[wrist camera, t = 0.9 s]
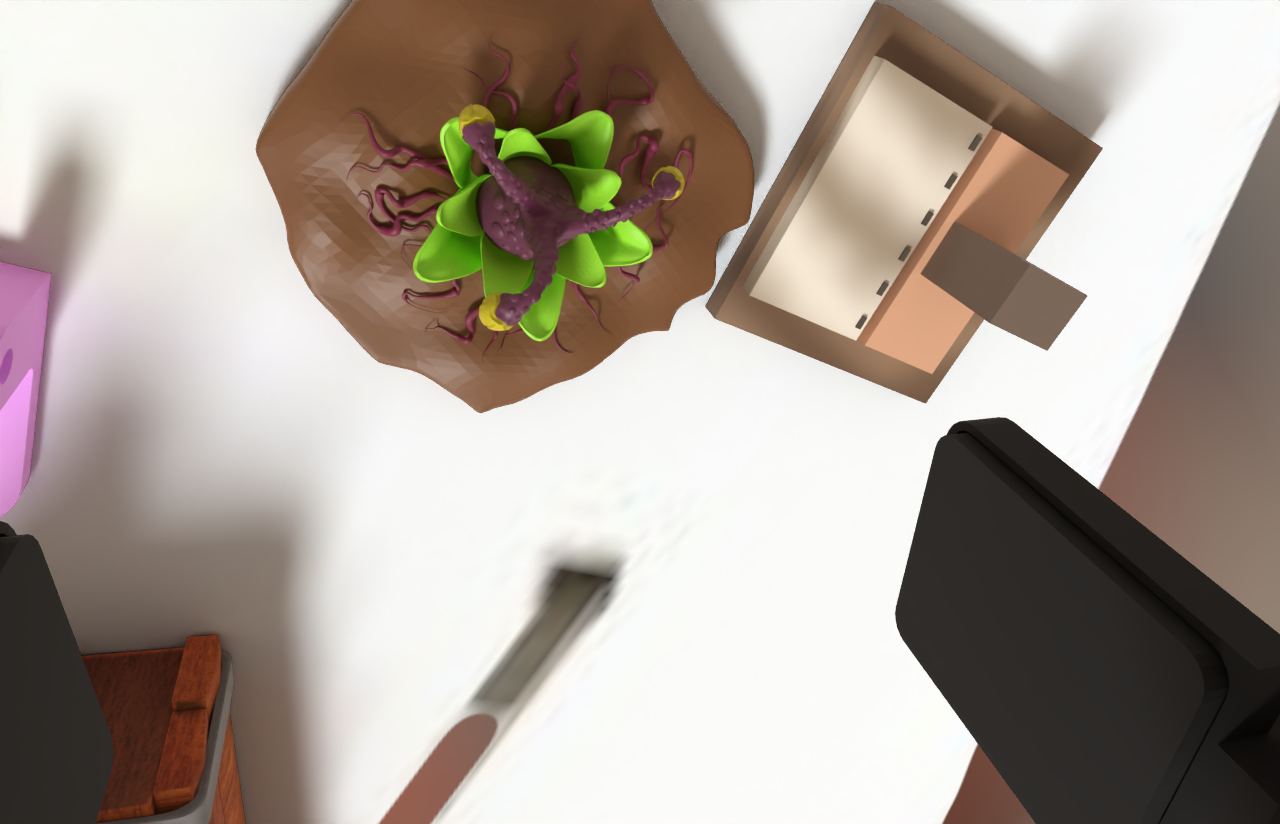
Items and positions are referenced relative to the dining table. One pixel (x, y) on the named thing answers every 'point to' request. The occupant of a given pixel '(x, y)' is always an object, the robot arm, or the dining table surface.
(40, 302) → the bracket
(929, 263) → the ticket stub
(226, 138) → the dining table surface
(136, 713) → the milk bottle holder
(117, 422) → the dining table surface
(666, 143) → the plant
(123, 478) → the dining table surface
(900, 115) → the board
